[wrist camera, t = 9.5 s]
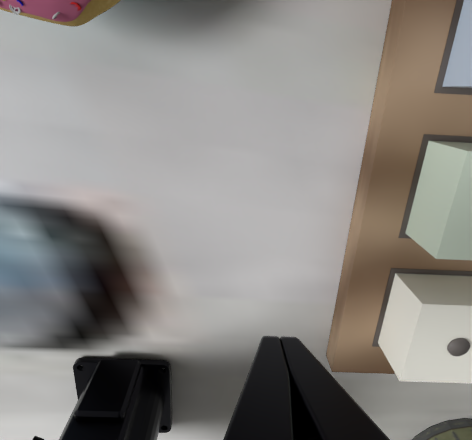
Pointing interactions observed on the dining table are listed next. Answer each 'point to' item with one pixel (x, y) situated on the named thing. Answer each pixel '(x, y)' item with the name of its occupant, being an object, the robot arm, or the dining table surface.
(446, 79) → the tile three
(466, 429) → the moai stone figurine
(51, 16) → the cupcake
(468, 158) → the tile two
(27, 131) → the dining table surface
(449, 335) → the tile one
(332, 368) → the wooden plank tray
